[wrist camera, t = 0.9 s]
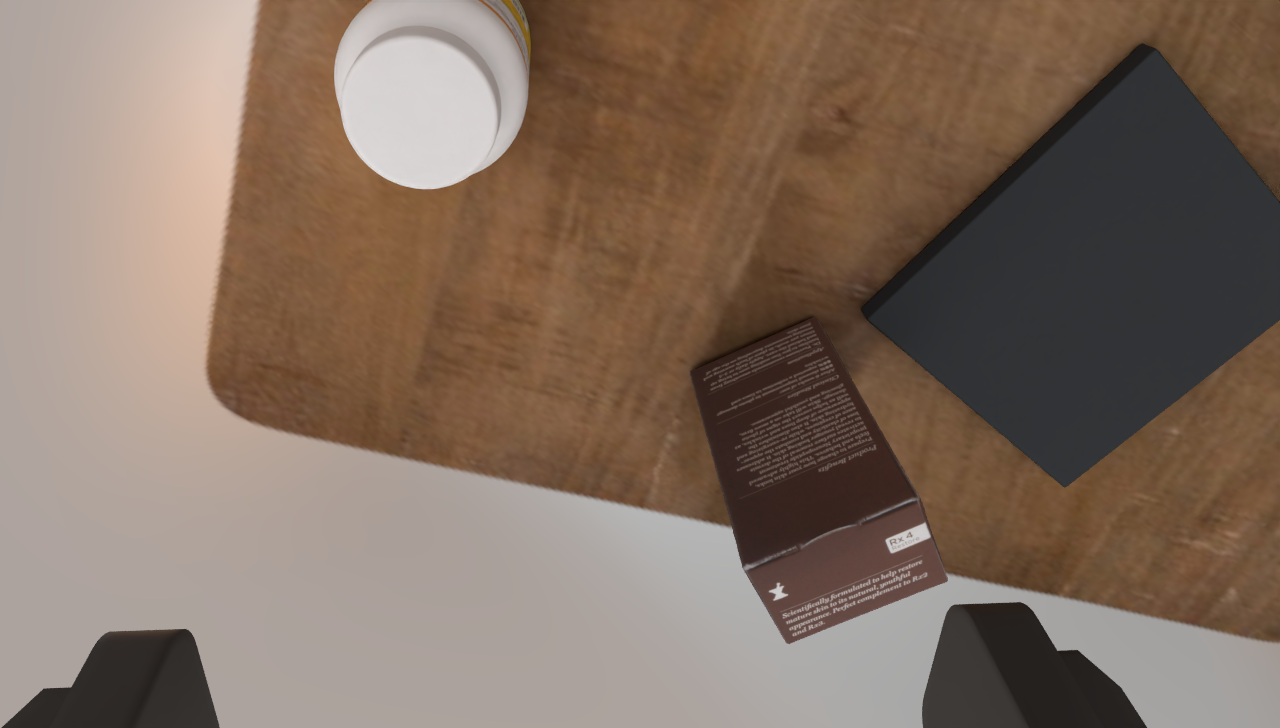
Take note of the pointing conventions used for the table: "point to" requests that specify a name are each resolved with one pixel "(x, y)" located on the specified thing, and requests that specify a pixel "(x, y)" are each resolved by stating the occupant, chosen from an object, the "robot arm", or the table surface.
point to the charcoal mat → (1096, 273)
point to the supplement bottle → (433, 86)
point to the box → (812, 484)
